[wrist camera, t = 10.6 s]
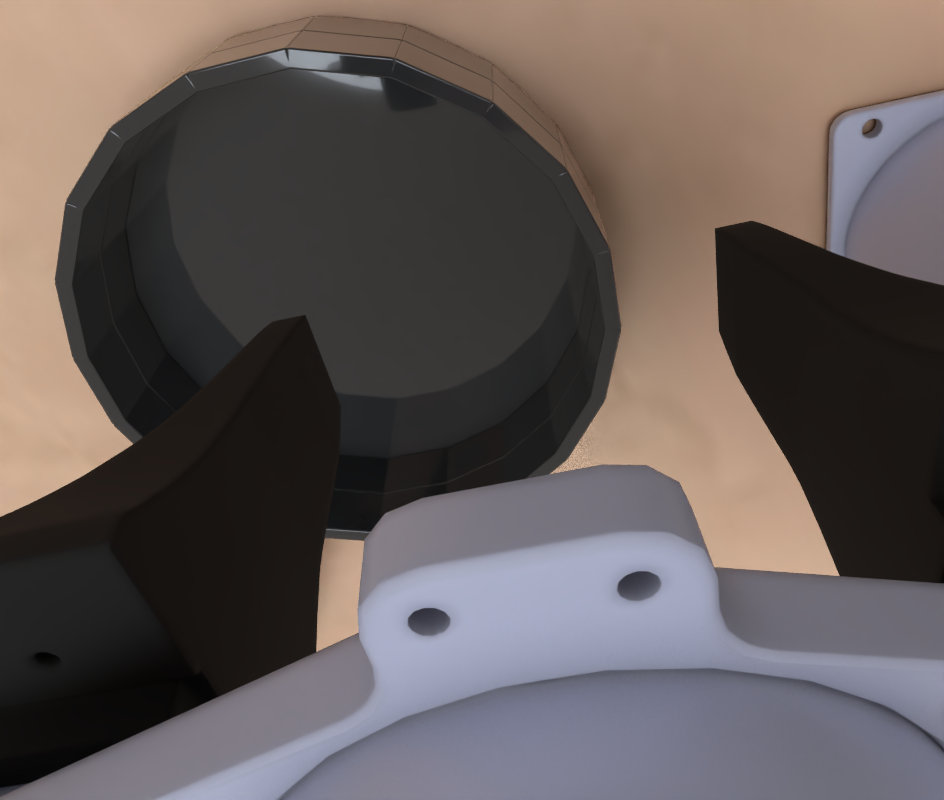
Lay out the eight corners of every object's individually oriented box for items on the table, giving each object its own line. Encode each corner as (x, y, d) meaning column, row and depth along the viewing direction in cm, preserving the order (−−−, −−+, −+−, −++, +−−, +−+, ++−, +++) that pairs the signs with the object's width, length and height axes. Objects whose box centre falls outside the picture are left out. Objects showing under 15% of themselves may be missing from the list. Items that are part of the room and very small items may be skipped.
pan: (557, -48, 20) (572, -25, 17) (627, 423, 28) (645, 500, 25) (18, 90, 22) (-64, 135, 19) (231, 491, 30) (201, 571, 27)
